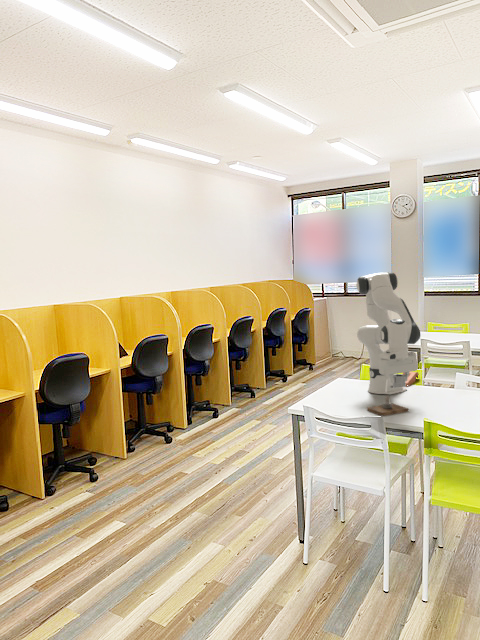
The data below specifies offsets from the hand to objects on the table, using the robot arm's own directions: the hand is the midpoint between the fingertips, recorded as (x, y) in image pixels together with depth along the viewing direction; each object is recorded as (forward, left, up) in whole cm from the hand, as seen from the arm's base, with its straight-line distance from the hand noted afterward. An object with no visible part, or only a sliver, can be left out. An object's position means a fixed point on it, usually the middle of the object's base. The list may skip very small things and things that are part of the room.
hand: (399, 382), depth 232 cm
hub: (0, 0, -2) cm, 2 cm away
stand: (-4, -14, -18) cm, 23 cm away
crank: (-50, -54, -18) cm, 76 cm away
